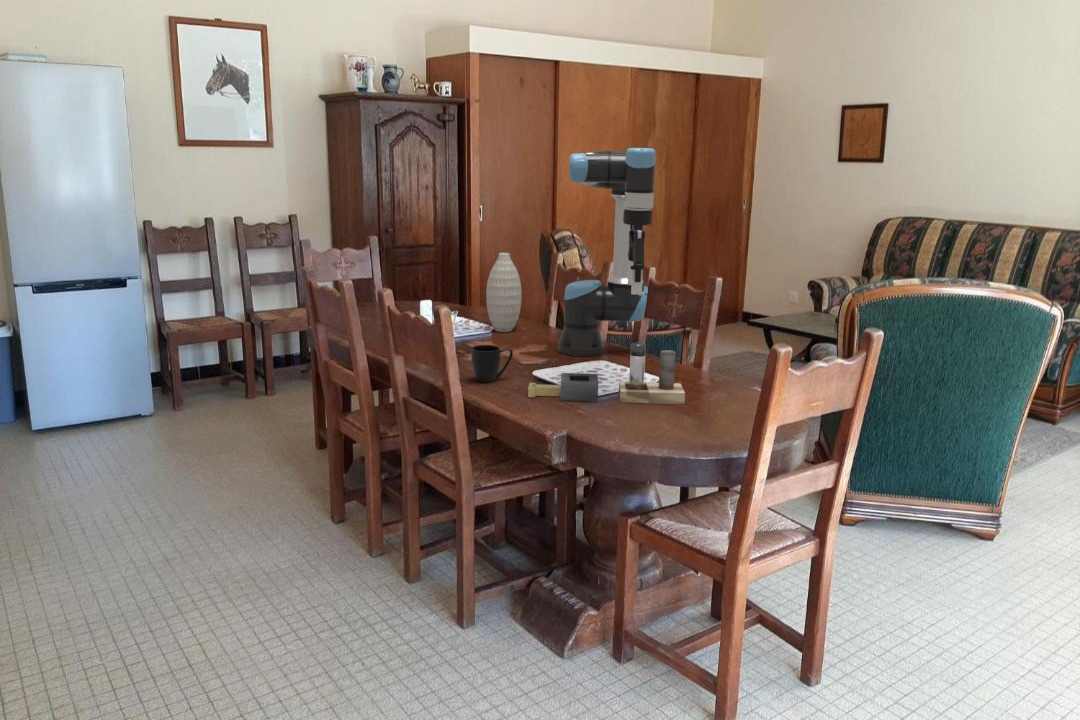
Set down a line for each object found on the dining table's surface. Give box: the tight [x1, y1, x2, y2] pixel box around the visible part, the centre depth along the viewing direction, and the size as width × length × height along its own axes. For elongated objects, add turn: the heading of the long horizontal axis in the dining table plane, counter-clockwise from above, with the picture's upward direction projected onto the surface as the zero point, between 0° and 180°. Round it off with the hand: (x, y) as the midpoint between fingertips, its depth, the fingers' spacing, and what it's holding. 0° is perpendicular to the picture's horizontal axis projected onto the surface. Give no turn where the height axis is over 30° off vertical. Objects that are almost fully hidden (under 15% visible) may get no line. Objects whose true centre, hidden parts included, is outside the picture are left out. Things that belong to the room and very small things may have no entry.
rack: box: [618, 349, 686, 405], centre depth 232 cm, size 10×17×13 cm, turn 88°
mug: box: [471, 344, 514, 384], centre depth 247 cm, size 8×12×10 cm
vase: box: [485, 252, 522, 333], centre depth 310 cm, size 13×13×28 cm
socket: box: [559, 372, 600, 403], centre depth 233 cm, size 10×10×5 cm
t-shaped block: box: [527, 382, 561, 398], centre depth 234 cm, size 6×11×2 cm, turn 88°
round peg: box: [628, 341, 647, 390], centre depth 232 cm, size 4×4×15 cm
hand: (634, 289), depth 229 cm, fingers open, 13 cm apart
